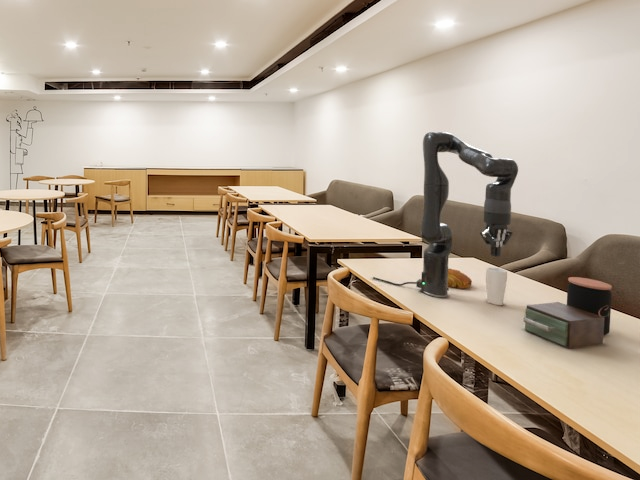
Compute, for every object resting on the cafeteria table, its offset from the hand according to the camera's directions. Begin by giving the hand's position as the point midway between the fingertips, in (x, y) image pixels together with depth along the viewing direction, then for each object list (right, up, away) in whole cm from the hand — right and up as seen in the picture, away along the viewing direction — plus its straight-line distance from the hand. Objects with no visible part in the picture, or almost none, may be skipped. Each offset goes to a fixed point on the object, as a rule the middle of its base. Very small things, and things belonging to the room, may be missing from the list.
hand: (495, 255), depth 137 cm
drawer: (+14, -26, -8) cm, 31 cm away
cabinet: (+18, -27, -7) cm, 33 cm away
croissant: (+19, -26, +43) cm, 54 cm away
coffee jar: (+34, -28, -1) cm, 44 cm away
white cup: (+20, -27, +21) cm, 39 cm away
